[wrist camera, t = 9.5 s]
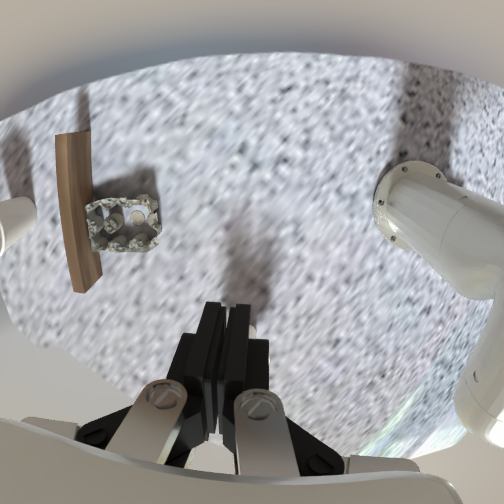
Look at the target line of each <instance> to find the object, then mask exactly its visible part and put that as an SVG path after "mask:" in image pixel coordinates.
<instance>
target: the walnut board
mask: <svg viewBox="0 0 504 504" xmlns="http://www.w3.org/2000/svg"><path fill="white" fill-rule="evenodd" d="M55 153H56V174H57V187H58V198H59V208H60V216H61V224H62V231H63V238H64V244H65V250H66V256H67V261H68V267H69V272H70V276H71V281H72V286H73V290H74V292H78V293H84V294H85V293H86V292H87V291H88V290H89V289H90V288H91V286H92V285H93V284H94V283H95V282H96V281H97V280H98V279H99V278H100V277H101V276H102V275H103V274H102V268H101V262H100V255H99V252H92V248H91V239H90V238H89V230H88V222H87V221H86V218H87V210H86V209H85V206H86V205H88V204H90V203H91V202H94V201H93V188H92V169H91V131H85V132H74V133H65V134H59V135H55Z"/></svg>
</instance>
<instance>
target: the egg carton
mask: <svg viewBox="0 0 504 504" xmlns="http://www.w3.org/2000/svg"><path fill="white" fill-rule="evenodd" d="M117 204H118V205H119V206H121V205H122V206H123V207H125V208H126V207H128V208H130V207H132V206H133V205H145V206H147V207H148V209H149V212H150V214H149V215H148V219H147V222H148V224H149V225H150V227H152V228H154V229H155V230H157V235H156V236H155V237H154V238H152V240H149V238H148V236H147V235H145V234H143V233H139V234H137V235H136V236H135V237H134V238H133V239H132V240H130V242H128V239H127V238H126V237H125V236H123V235H118V236H117V237H115V238H114V239H113V240H111V241H109V242H108V240H107V239H106V238H105V237H102V236H101V233H100V230H101V229H102V228H103V227H104V229H105V230H106V231H107V232H108V233H110V234H112V233H114V232H115V231H117V230H118V229H119V228H121V227H122V226H123V224H124V218H123V216H122V215H121V214H119V213H113V214H112V215H110V216H108V217H107V218H106V219H105V221H104V219H103V218H102V217H101V216H99V215H96V211H95V208H97V207H98V206H99V205H100V206H101V207H102V208H104V209H106V210H109V209H111V208H112V207H114V206H115V205H117ZM157 208H158V201H157V200H153V199H151V198H150V197H149V195H148V194H139V196H137V197H136V199H135V200H128V199H127V197H126V196H124V197H120V198H107V199H102V200H98V201H96V202H91V203H90V204H88V205H86V206H85V209H86V210H87V218H86V221H87V222H88V230H89V238H90V239H91V248H92V252H106V251H110V252H113V251H114V252H116V253H117V252H148V251H150V250H151V249H153V248H154V247H156V246H157V245H158V244H159V241H158V239H157V238H156V237H157V236H158V235H159V234H160V233H161V232H162V226H161V224H158V223H157V222H158V219H157V213H155V214H154V211H155V210H156V209H157ZM130 219H131V221H132V223H133V224H134V225H137V226H141V225H142V224H143V223H144V222H145V216H144V214H143V213H142V212H141V211H138V210H136V211H133V212H132V214H131V216H130Z"/></svg>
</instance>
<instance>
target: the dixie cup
mask: <svg viewBox="0 0 504 504" xmlns="http://www.w3.org/2000/svg"><path fill="white" fill-rule="evenodd" d="M36 220H37V211H36V207H35V205H34V203H33V201H32V200H31V199H30V198H28V197H26V196H23V197H17V198H13V199H9V200H5V201H0V256H1V255H2V254H3V252H4V251H5V250H6V249H7V248H8V247H9V246H11V245H12V244H13V243H14V242H15V241H16V240H18V239H19V238H20V237H21V236H22V235H24V234H25V233H26V232H27V231H28V230H30V229H31V228H32V227H33V226H34V225H35V223H36Z"/></svg>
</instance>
